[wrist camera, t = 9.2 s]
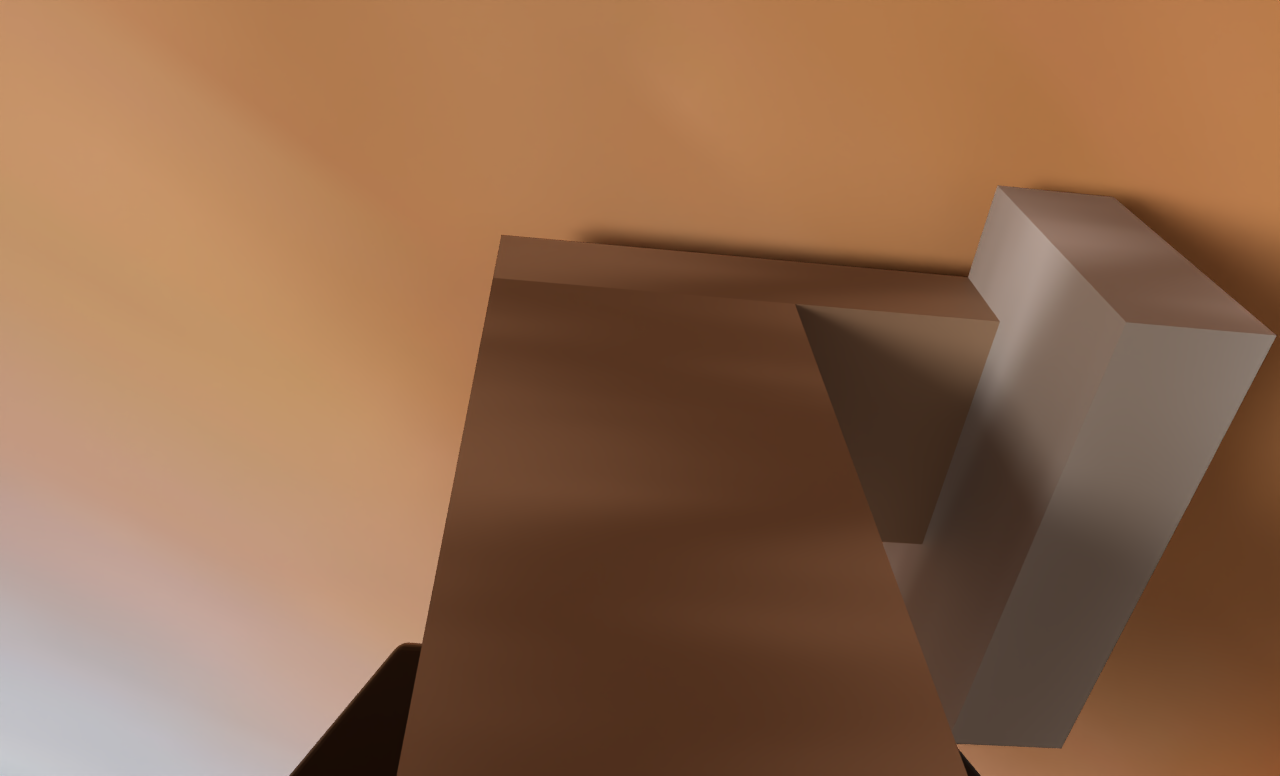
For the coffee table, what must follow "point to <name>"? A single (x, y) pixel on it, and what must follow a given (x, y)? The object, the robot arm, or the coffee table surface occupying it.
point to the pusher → (815, 499)
